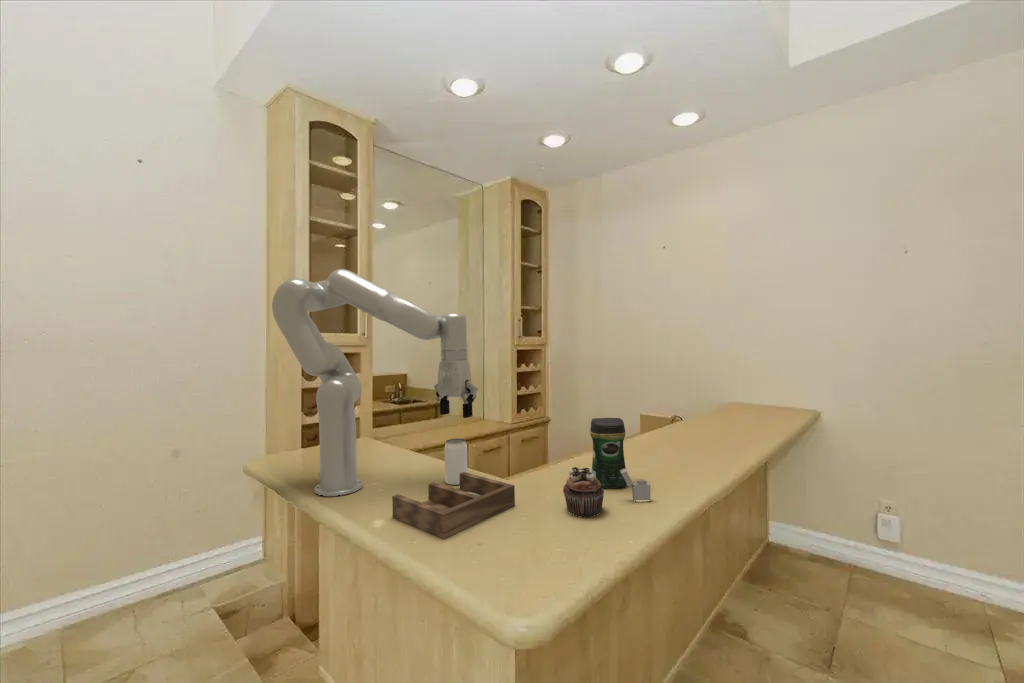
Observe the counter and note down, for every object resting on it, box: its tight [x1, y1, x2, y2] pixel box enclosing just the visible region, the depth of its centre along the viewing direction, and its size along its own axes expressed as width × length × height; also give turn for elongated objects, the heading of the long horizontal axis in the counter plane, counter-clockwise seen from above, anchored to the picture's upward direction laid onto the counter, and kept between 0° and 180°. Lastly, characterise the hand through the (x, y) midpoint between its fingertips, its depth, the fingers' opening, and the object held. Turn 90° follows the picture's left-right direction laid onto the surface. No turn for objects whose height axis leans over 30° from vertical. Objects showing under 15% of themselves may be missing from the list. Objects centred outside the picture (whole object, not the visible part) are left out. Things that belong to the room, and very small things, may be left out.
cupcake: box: [562, 466, 605, 518], centre depth 103 cm, size 10×10×10 cm
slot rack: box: [391, 472, 516, 540], centre depth 104 cm, size 18×23×5 cm
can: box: [444, 437, 468, 486], centre depth 126 cm, size 6×6×12 cm
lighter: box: [620, 468, 652, 501], centre depth 109 cm, size 7×2×8 cm, turn 87°
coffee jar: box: [589, 417, 628, 489], centre depth 121 cm, size 10×8×19 cm
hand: (456, 415), depth 126 cm, fingers open, 9 cm apart
